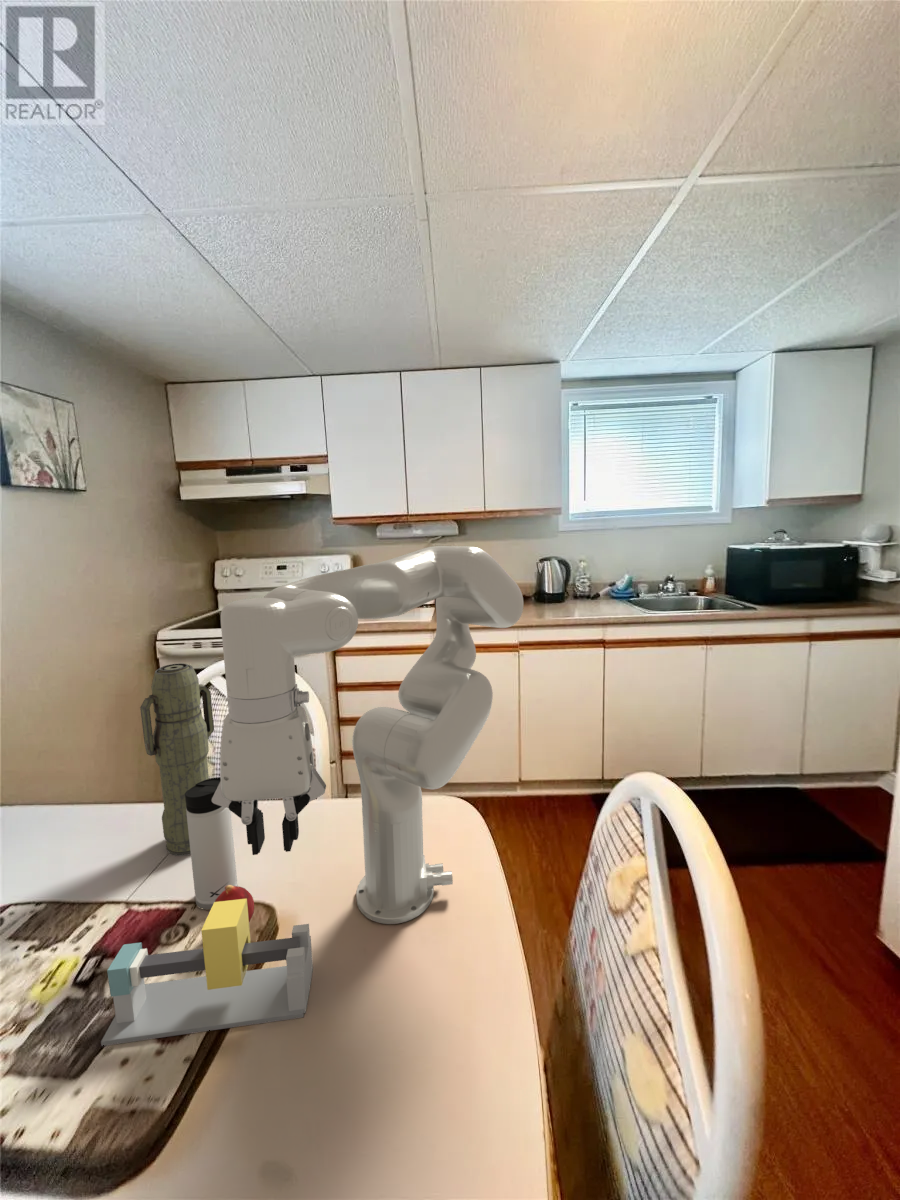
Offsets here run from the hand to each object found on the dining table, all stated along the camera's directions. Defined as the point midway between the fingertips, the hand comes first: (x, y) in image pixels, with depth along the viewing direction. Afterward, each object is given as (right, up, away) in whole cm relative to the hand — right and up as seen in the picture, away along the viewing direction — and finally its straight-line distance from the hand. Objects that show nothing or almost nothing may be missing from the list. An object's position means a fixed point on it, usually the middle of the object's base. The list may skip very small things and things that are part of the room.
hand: (274, 844), depth 59 cm
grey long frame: (-8, -21, +2) cm, 23 cm away
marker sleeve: (-6, -17, +2) cm, 18 cm away
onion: (-11, -20, +13) cm, 26 cm away
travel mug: (-17, -19, +20) cm, 32 cm away
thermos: (-29, -17, +34) cm, 48 cm away
